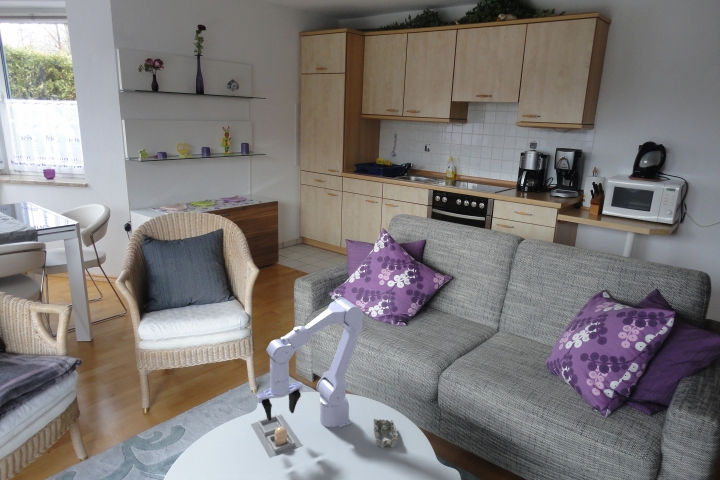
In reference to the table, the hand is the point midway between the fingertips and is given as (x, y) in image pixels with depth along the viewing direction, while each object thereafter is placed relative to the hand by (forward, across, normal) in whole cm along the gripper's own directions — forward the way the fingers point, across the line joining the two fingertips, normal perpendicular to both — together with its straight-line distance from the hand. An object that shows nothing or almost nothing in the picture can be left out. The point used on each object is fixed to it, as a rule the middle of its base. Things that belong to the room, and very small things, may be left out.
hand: (280, 415), depth 151 cm
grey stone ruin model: (+10, -30, +15) cm, 35 cm away
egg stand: (+10, +1, -3) cm, 10 cm away
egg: (+9, +1, +2) cm, 9 cm away
